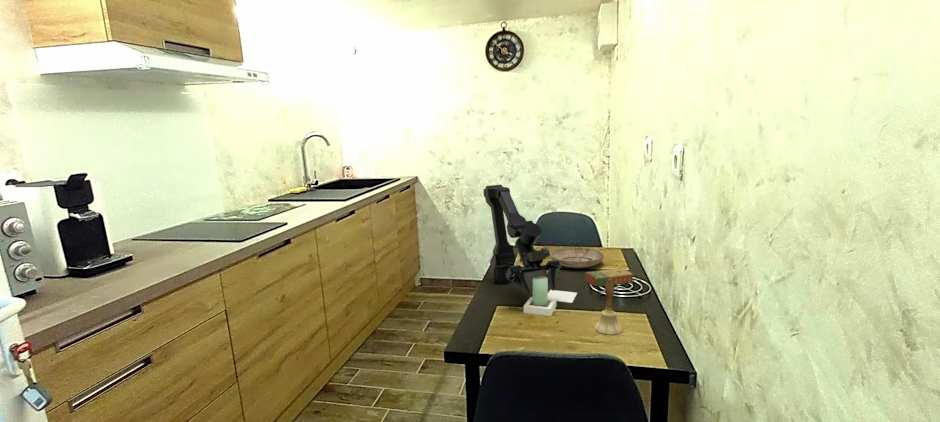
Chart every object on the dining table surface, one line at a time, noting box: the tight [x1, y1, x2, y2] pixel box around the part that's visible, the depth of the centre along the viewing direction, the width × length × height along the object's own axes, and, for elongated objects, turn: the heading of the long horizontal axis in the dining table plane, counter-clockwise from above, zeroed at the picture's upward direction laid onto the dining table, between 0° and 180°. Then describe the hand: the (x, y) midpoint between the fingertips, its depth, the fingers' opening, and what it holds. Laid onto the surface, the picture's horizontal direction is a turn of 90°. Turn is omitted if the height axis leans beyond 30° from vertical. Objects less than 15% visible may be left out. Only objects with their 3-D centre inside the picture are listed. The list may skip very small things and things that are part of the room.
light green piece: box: [532, 275, 549, 307], centre depth 158 cm, size 5×5×11 cm
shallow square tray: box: [523, 296, 557, 317], centre depth 159 cm, size 9×9×3 cm
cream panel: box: [548, 289, 578, 304], centre depth 170 cm, size 10×10×1 cm
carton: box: [585, 267, 634, 287], centre depth 185 cm, size 8×16×4 cm, turn 104°
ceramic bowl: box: [549, 247, 605, 269], centre depth 209 cm, size 23×24×5 cm
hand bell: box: [594, 279, 623, 336], centre depth 142 cm, size 8×8×16 cm
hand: (541, 292), depth 157 cm, fingers open, 9 cm apart
